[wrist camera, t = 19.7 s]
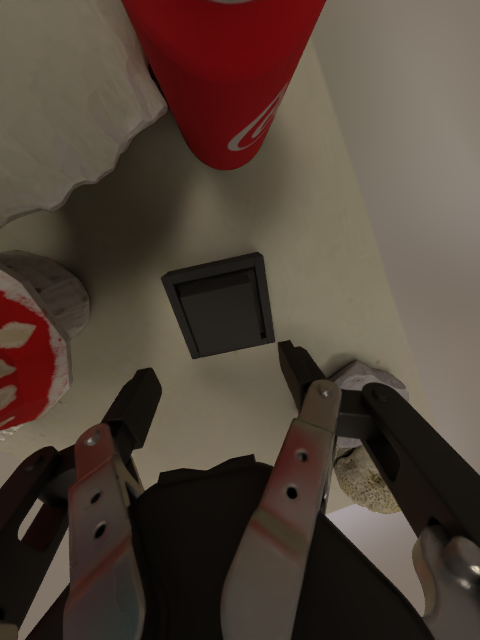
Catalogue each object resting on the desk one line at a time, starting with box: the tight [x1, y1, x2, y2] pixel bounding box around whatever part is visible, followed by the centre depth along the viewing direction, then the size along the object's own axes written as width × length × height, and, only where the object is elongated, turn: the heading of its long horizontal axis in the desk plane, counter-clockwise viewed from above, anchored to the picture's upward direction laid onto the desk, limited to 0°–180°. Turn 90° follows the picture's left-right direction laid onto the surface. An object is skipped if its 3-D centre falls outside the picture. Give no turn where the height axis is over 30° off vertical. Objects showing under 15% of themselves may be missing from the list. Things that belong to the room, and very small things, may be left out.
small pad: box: [180, 274, 262, 355], centre depth 17 cm, size 6×6×3 cm
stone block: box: [298, 360, 409, 448], centre depth 25 cm, size 12×5×10 cm
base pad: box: [161, 252, 275, 359], centre depth 19 cm, size 9×9×2 cm
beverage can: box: [121, 0, 326, 170], centre depth 8 cm, size 6×6×12 cm
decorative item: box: [335, 444, 402, 514], centre depth 31 cm, size 12×9×10 cm
